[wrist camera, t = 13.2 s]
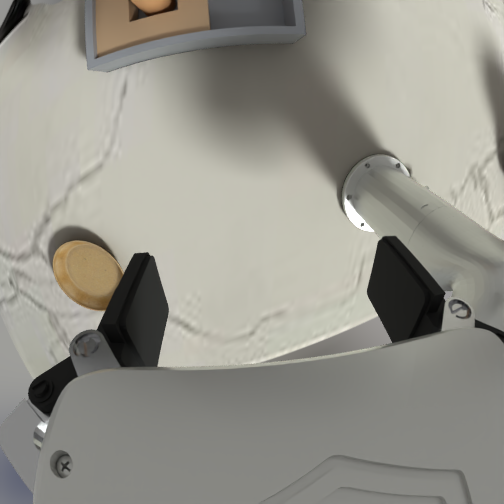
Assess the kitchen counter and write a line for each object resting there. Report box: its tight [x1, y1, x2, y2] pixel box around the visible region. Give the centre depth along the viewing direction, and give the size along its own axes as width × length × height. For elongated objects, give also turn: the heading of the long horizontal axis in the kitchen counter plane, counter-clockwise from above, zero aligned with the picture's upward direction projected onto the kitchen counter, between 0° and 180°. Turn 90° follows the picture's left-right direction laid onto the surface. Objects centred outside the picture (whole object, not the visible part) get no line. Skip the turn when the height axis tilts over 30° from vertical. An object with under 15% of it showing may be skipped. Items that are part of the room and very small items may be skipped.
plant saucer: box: [53, 240, 124, 311], centre depth 41 cm, size 15×15×3 cm
